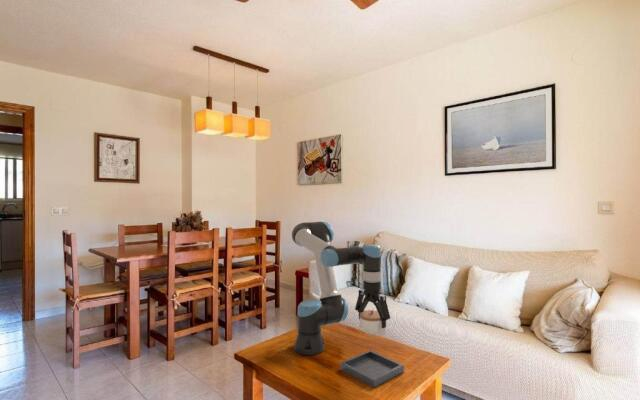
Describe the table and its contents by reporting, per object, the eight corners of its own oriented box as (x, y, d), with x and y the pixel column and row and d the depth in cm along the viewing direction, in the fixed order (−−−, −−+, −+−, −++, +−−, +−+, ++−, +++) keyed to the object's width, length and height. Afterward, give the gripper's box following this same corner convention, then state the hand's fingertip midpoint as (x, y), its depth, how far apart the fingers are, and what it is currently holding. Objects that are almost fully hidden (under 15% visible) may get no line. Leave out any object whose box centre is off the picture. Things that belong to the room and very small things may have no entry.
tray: (340, 369, 153) (340, 362, 153) (370, 356, 166) (370, 350, 166) (374, 387, 138) (374, 380, 138) (403, 372, 151) (403, 365, 151)
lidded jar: (389, 334, 149) (389, 312, 149) (368, 338, 145) (368, 316, 145) (375, 325, 159) (375, 305, 159) (354, 329, 154) (354, 308, 154)
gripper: (399, 284, 145) (399, 336, 145) (358, 274, 163) (358, 321, 163) (387, 287, 140) (387, 341, 141) (347, 277, 158) (347, 325, 158)
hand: (371, 330), depth 152 cm, fingers closed on lidded jar, 11 cm apart
